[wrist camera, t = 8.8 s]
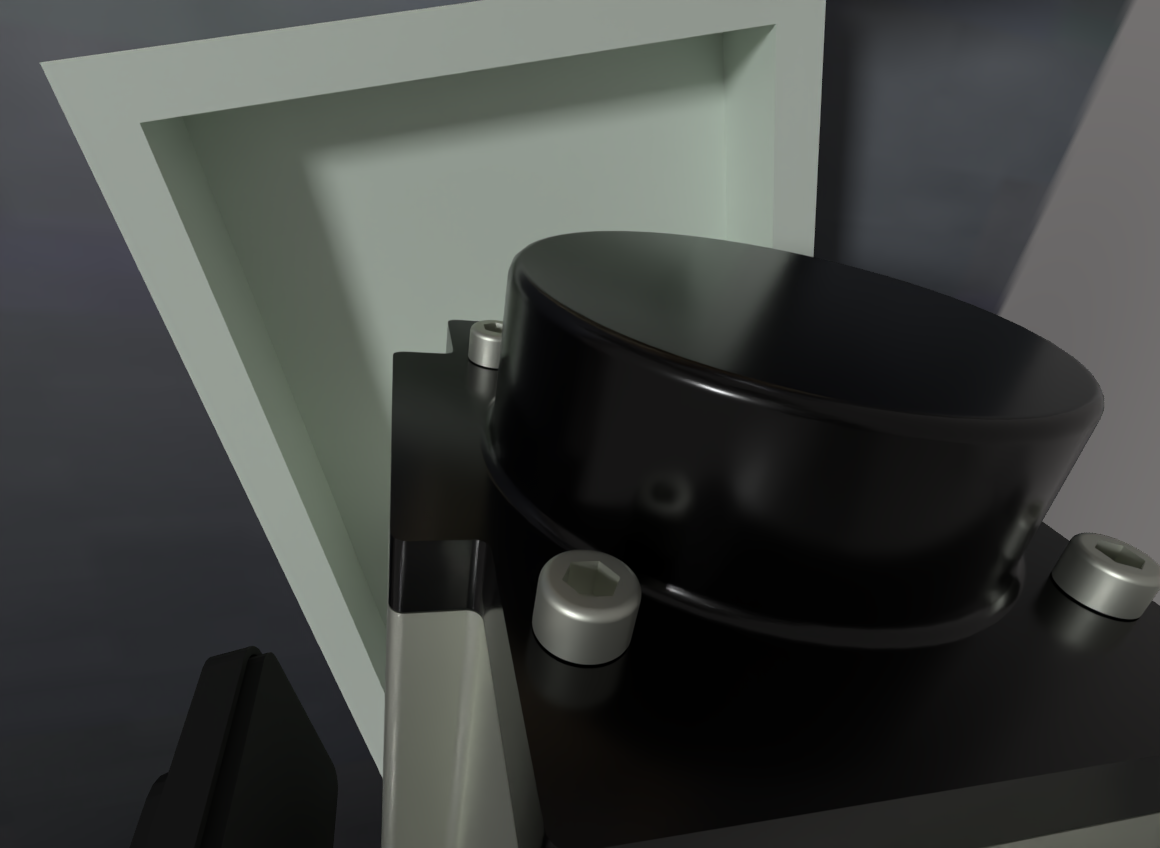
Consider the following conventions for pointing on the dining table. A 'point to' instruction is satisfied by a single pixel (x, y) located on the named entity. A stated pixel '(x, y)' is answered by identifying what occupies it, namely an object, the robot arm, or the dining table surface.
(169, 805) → the robot arm
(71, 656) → the dining table surface
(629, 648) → the pneumatic valve
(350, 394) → the tray
